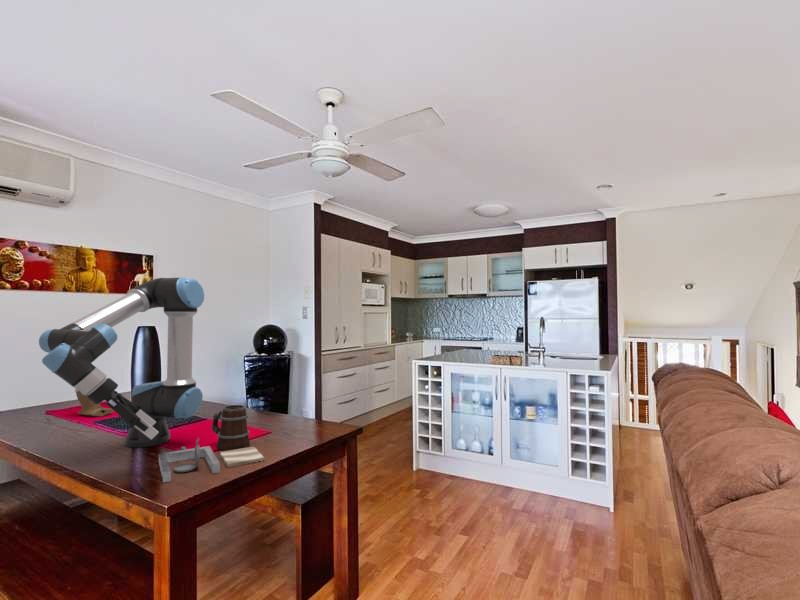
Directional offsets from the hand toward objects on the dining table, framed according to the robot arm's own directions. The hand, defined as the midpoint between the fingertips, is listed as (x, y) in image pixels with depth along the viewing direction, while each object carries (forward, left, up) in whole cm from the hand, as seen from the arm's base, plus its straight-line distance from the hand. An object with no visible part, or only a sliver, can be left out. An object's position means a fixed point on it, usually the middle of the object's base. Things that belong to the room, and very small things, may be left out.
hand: (154, 430), depth 134 cm
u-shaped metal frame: (-5, +10, -14) cm, 18 cm away
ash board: (-2, +27, -14) cm, 31 cm away
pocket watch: (0, +10, -14) cm, 18 cm away
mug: (-19, +26, -14) cm, 36 cm away
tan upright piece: (-102, -21, -14) cm, 105 cm away
